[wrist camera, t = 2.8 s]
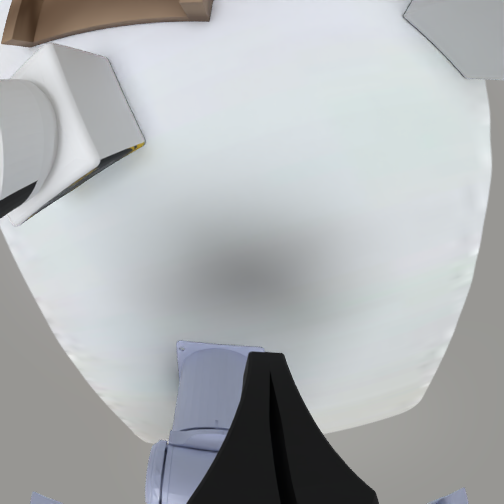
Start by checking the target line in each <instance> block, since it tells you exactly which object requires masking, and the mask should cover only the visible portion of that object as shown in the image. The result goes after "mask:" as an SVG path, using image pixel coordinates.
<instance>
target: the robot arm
mask: <svg viewBox="0 0 504 504" xmlns="http://www.w3.org/2000/svg"><path fill="white" fill-rule="evenodd" d="M180 347H184V348H185V349H184V350H181V349H180ZM177 358H178V370H179V381H180V383H179V389H178V396H177V402H176V408H175V415H174V422H173V429H172V430H171V431H170V436H169V444H167V441H165V440H159V442H158V443H156V444H154V445H153V446H152V448H151V452H150V456H149V461H148V468H147V475H146V486H145V500H146V503H147V504H379V502H378V499H377V496H376V493H375V491H374V490H373V489H372V488H370V487H369V486H368V485H367V484H366V483H365V482H364V481H362V480H361V479H360V478H359V477H358V476H357V475H356V474H355V473H354V472H353V471H352V470H351V469H350V468H349V467H348V466H347V464H345V462H344V461H343V460H342V459H341V457H340V456H339V455H338V454H337V453H336V452H335V450H334V449H333V448H332V446H331V445H330V444H329V442H328V441H327V440H326V438H325V437H324V435H323V434H322V432H321V431H320V429H319V428H318V426H317V425H316V423H315V421H314V420H313V418H312V416H311V414H310V413H309V411H308V409H307V407H306V405H305V403H304V401H303V399H302V397H301V395H300V393H299V391H298V389H297V387H296V385H295V382H294V380H293V378H292V375H291V373H290V370H289V368H288V365H287V362H286V359H285V356H284V354H283V353H270V352H264V349H263V348H262V347H252V346H236V345H222V344H211V343H200V342H190V341H178V342H177ZM30 504H64V503H61V502H59V501H56V500H54V499H50V498H47V497H45V496H43V495H41V494H39V493H36V492H32V496H31V501H30ZM427 504H469V503H468V498H467V494H466V490H465V488H462V489H459V490H457V491H455V492H453V493H451V494H449V495H447V496H444V497H441V498H439V499H436V500H434V501H431V502H429V503H427Z"/></svg>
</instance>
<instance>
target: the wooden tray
mask: <svg viewBox="0 0 504 504" xmlns="http://www.w3.org/2000/svg"><path fill="white" fill-rule="evenodd" d="M212 4H213V0H12V3H11V6H10V9H9V13H8V17H7V20H6V24H5V28H4V33H3V37H2V42H1V44H6V45H15V46H23V47H33V46H36V45H39V44H42V43H45V42H49V41H52V40H56V39H59V38H63V37H67V36H71V35H75V34H80V33H84V32H89V31H94V30H99V29H105V28H111V27H118V26H125V25H133V24H143V23H155V22H175V21H209V20H210V15H211V9H212Z"/></svg>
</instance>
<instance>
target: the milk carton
mask: <svg viewBox="0 0 504 504" xmlns="http://www.w3.org/2000/svg"><path fill="white" fill-rule="evenodd" d="M404 18H405V19H407V20H408V21H409V22H410V23H411V24H412V25H413V26H415V27H416V28H417V29H418V30H419V31H420V32H421V33H422V34H424V35H425V36H426V37H427V38H428V39H429V40H430V41H431V42H432V43H433V44H434V45H435V46H436V47H437V48H438V49H439V50H440V51H441V52H442V53H443V54H444V55H445V56H446V57H447V58H448V59H449V60H450V61H451V62H452V63H453V65H454V66H455V67H456V68H457V69H458V70H459V71H460V72H461V74H462V75H463V76H464V77H465V78H468V79H492V80H504V0H413V1H412V2H411V4H410V6H409V7H408V9H407V11H406V12H405V14H404Z"/></svg>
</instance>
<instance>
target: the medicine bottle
mask: <svg viewBox="0 0 504 504" xmlns="http://www.w3.org/2000/svg"><path fill="white" fill-rule="evenodd" d="M144 143H145V140H144V137H143V135H142V133H141V131H140V129H139V127H138V125H137V123H136V120H135V118H134V116H133V114H132V112H131V110H130V108H129V105H128V103H127V101H126V99H125V97H124V94H123V92H122V90H121V88H120V85H119V83H118V81H117V79H116V76H115V74H114V72H113V70H112V67H111V65H110V63H109V60H108V59H107V58H106V57H103V56H100V55H96V54H93V53H90V52H86V51H82V50H79V49H75V48H71V47H67V46H63V45H59V44H55V43H46V44H45V45H43V46H42V47H41V48H40V49H39V50H38V51H37V52H36V53H35V54H34V55H32V56H31V57H30V58H29V59H28V60H27V61H26V62H25V63H24V64H23V65H22V66H21V67H20V68H19V69H18V70H17V71H16V72H15V73H14V75H13V76H12V77H11V78H10V79H3V80H0V218H2V217H3V216H5V215H6V214H7V215H8V217H9V219H10V221H11V223H12V224H13V225H14V226H15V227H16V226H19V225H21V224H22V223H24V222H25V221H26V220H28V219H29V218H31V217H32V216H34V215H35V214H36V213H38V212H39V211H41V210H42V209H44V208H45V207H47V206H48V205H50V204H52V203H53V202H55V201H56V200H58V199H59V198H61V197H63V196H64V195H66V194H67V193H69V192H71V191H72V190H74V189H75V188H77V187H78V186H79V185H81V184H82V183H84V182H85V181H87V180H88V179H90V178H91V177H93V176H94V175H96V174H97V173H99V172H100V171H102V170H104V169H105V168H107V167H108V166H110V165H112V164H113V163H115V162H116V161H118V160H120V159H121V158H123V157H125V156H127V155H128V154H130V153H132V152H133V151H135V150H137V149H139V148H140V147H142V146H143V145H144Z"/></svg>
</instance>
